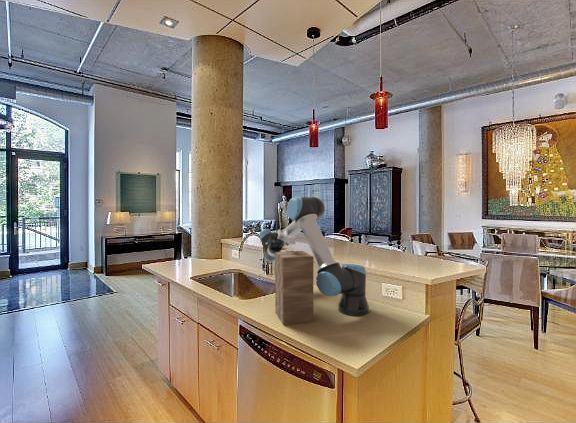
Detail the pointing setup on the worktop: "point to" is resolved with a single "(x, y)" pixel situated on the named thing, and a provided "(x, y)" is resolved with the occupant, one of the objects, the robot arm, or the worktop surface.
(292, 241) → the metal bar
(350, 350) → the worktop surface
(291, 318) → the walnut stand
